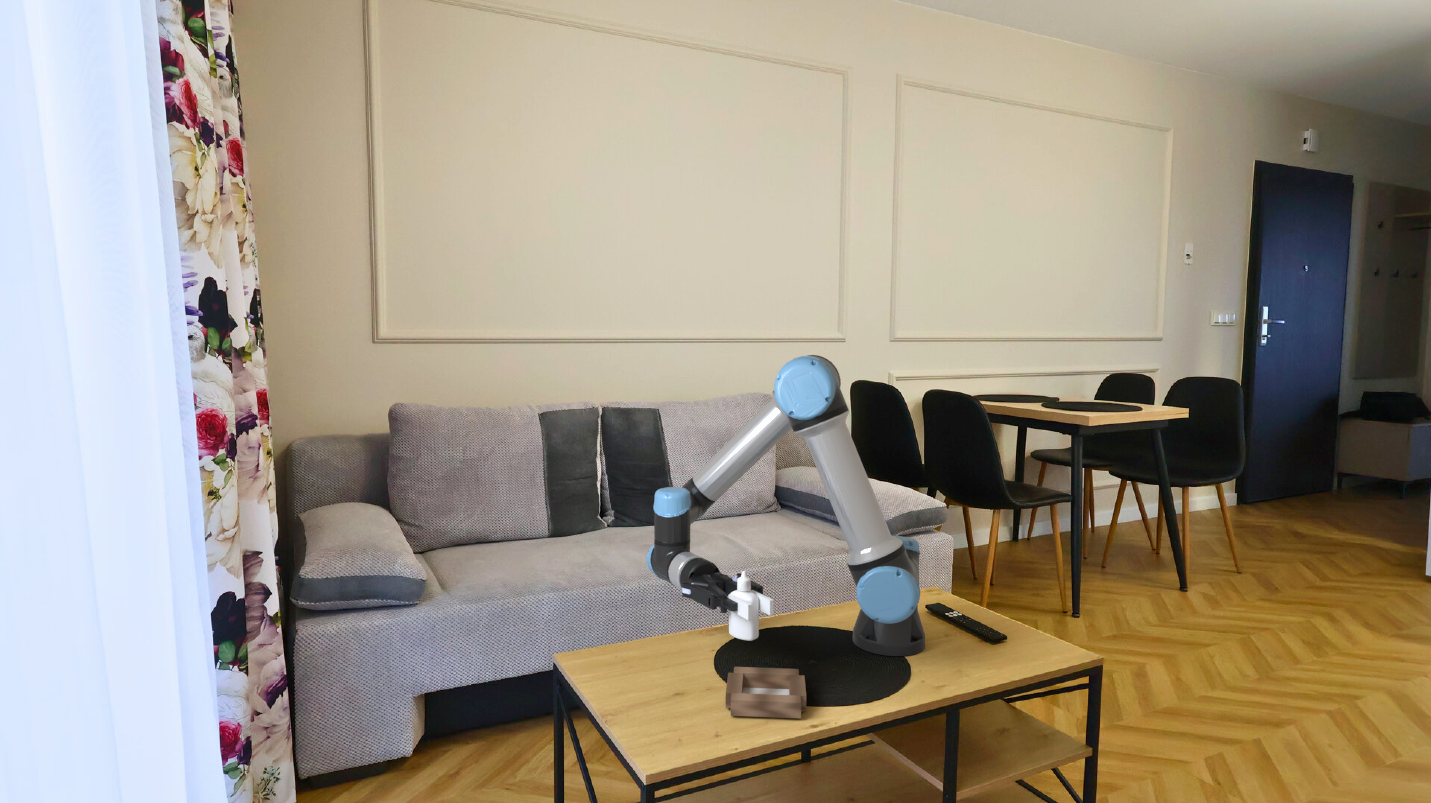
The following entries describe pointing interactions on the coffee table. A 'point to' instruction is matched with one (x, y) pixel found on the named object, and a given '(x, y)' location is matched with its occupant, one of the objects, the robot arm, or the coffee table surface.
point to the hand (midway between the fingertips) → (760, 609)
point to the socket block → (766, 692)
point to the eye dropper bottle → (738, 624)
